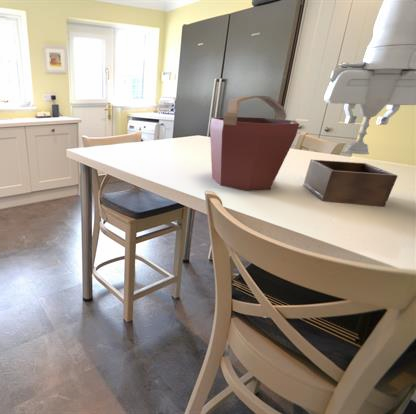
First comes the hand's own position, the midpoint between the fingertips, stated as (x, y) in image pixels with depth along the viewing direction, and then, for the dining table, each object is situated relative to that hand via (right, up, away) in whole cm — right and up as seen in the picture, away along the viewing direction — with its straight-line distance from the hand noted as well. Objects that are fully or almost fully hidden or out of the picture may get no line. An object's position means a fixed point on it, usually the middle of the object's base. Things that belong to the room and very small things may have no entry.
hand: (365, 123), depth 71 cm
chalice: (0, -7, +2) cm, 7 cm away
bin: (0, -18, +7) cm, 19 cm away
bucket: (-23, -13, +18) cm, 32 cm away
